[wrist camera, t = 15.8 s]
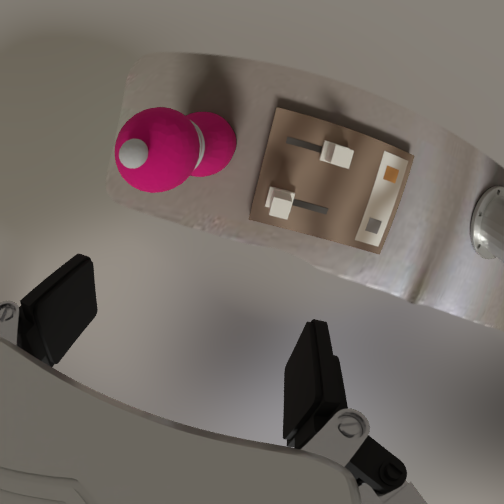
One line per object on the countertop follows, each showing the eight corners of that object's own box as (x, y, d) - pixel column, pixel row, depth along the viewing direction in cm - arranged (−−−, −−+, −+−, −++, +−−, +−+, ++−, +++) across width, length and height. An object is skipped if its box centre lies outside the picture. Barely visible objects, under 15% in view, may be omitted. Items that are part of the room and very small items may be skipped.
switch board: (409, 154, 30) (414, 155, 28) (376, 249, 35) (379, 254, 34) (276, 108, 29) (276, 107, 28) (249, 215, 35) (248, 219, 33)
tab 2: (348, 148, 29) (358, 150, 25) (342, 167, 30) (352, 172, 26) (324, 140, 29) (331, 141, 25) (318, 159, 30) (325, 163, 26)
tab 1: (294, 192, 32) (297, 201, 28) (289, 211, 33) (291, 222, 29) (270, 186, 31) (269, 193, 28) (265, 205, 32) (263, 215, 29)
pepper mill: (238, 111, 30) (181, 78, 11) (242, 169, 32) (194, 212, 14) (181, 119, 30) (74, 110, 12) (186, 174, 33) (89, 221, 15)
